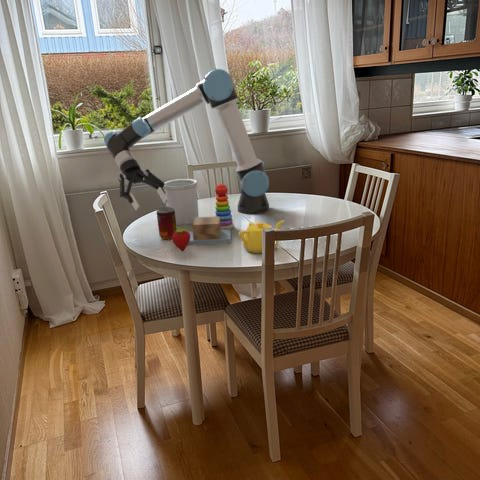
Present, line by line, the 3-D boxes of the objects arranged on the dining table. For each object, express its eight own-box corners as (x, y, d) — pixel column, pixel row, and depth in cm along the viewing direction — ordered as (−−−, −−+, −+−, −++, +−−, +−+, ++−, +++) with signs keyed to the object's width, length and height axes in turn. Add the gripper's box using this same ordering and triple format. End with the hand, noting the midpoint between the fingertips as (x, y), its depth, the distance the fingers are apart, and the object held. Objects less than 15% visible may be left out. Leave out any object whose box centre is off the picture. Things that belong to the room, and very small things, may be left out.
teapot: (272, 257, 148) (272, 230, 145) (236, 253, 153) (235, 227, 150) (284, 244, 160) (284, 218, 157) (251, 241, 165) (250, 216, 162)
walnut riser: (221, 230, 174) (220, 216, 172) (219, 238, 164) (218, 223, 162) (196, 231, 174) (194, 217, 172) (193, 240, 165) (192, 225, 163)
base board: (231, 232, 175) (230, 229, 175) (230, 243, 164) (230, 239, 163) (186, 234, 176) (186, 231, 175) (183, 245, 164) (182, 241, 164)
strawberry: (169, 253, 157) (166, 227, 153) (183, 246, 163) (180, 221, 159) (181, 256, 154) (178, 229, 150) (195, 249, 159) (193, 223, 156)
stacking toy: (236, 225, 184) (234, 182, 178) (229, 231, 177) (227, 186, 171) (219, 224, 187) (216, 181, 181) (212, 230, 180) (208, 186, 173)
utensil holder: (194, 225, 187) (191, 185, 181) (162, 225, 190) (157, 186, 184) (203, 216, 201) (200, 178, 195) (173, 215, 204) (169, 178, 198)
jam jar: (163, 235, 177) (160, 206, 173) (179, 235, 175) (177, 206, 171) (156, 240, 170) (153, 210, 166) (173, 241, 169) (170, 211, 165)
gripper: (150, 165, 190) (174, 203, 185) (97, 174, 174) (122, 217, 168) (156, 154, 184) (180, 193, 179) (102, 162, 168) (127, 206, 163)
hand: (152, 205), depth 174 cm, fingers open, 13 cm apart
